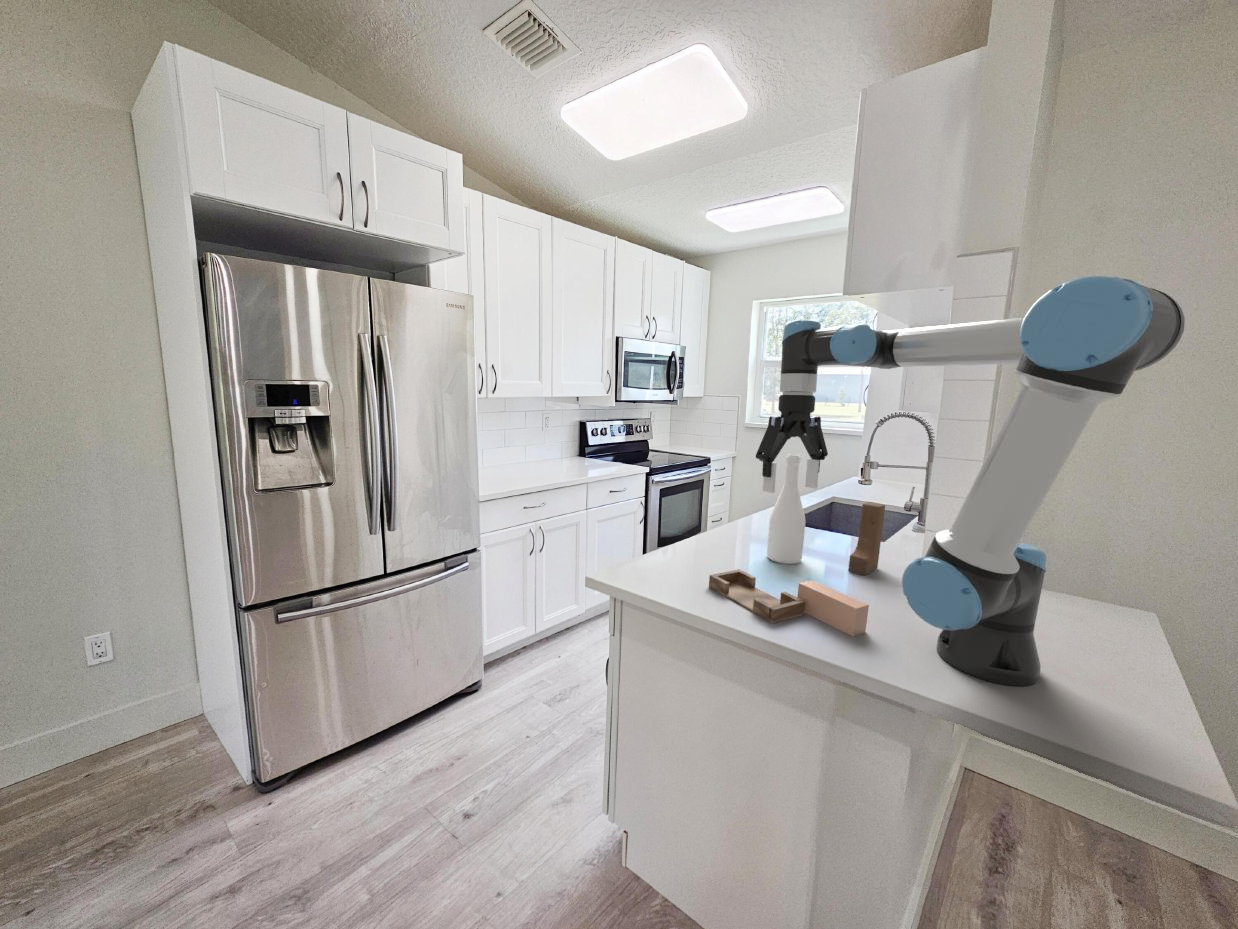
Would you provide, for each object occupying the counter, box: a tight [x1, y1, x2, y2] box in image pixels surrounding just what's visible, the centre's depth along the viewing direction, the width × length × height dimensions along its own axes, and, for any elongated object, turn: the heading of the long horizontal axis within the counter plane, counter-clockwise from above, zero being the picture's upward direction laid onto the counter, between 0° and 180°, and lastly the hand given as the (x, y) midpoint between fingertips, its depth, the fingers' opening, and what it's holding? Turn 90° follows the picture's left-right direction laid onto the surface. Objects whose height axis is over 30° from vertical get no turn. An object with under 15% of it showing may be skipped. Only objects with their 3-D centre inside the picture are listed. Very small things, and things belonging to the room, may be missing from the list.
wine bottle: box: [766, 453, 807, 565], centre depth 140 cm, size 10×10×30 cm
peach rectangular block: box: [796, 579, 870, 637], centre depth 106 cm, size 14×4×6 cm, turn 30°
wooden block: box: [848, 501, 886, 576], centre depth 135 cm, size 9×4×18 cm, turn 133°
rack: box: [708, 568, 805, 624], centre depth 114 cm, size 20×9×3 cm, turn 29°
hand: (790, 489), depth 113 cm, fingers open, 13 cm apart
